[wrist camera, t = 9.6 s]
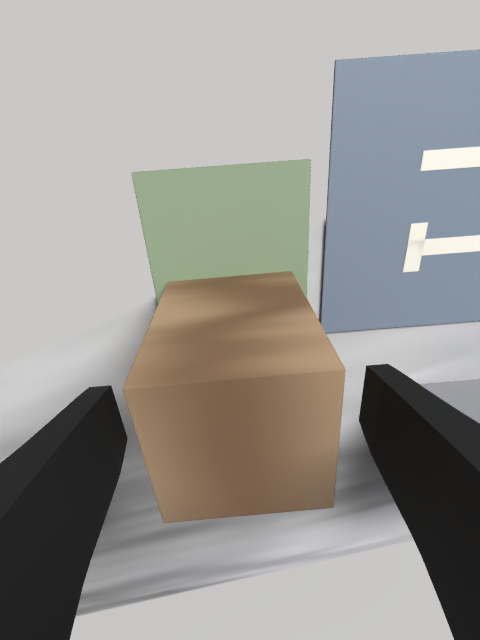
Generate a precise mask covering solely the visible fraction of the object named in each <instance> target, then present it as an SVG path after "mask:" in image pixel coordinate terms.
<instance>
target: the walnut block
mask: <svg viewBox="0 0 480 640" xmlns="http://www.w3.org/2000/svg"><path fill="white" fill-rule="evenodd" d="M344 381H345V368H344V366H343V364H342V362H341V360H340V359H339V357H338V355H337V353H336V351H335V349H334V348H333V346H332V344H331V342H330V340H329V338H328V337H327V335H326V333H325V331H324V329H323V328H322V326H321V324H320V322H319V320H318V318H317V317H316V315H315V313H314V311H313V309H312V307H311V306H310V304H309V302H308V300H307V298H306V297H305V295H304V293H303V291H302V289H301V287H300V286H299V284H298V282H297V280H296V278H295V276H294V275H293V273H292V271H285V272H274V273H262V274H251V275H240V276H228V277H217V278H206V279H194V280H183V281H172V282H167V285H166V287H165V289H164V292H163V294H162V297H161V299H160V301H159V304H158V306H157V309H156V311H155V313H154V316H153V318H152V321H151V323H150V325H149V328H148V330H147V332H146V335H145V337H144V340H143V342H142V344H141V347H140V349H139V352H138V354H137V356H136V359H135V361H134V364H133V366H132V368H131V371H130V373H129V375H128V378H127V380H126V383H125V385H124V387H123V392H124V395H125V398H126V402H127V405H128V408H129V411H130V415H131V418H132V421H133V424H134V428H135V431H136V434H137V437H138V441H139V444H140V447H141V450H142V454H143V457H144V460H145V463H146V467H147V470H148V473H149V476H150V480H151V483H152V486H153V489H154V493H155V496H156V499H157V502H158V506H159V509H160V512H161V515H162V518H163V522H164V523H169V522H180V521H191V520H202V519H213V518H224V517H236V516H247V515H258V514H269V513H280V512H291V511H302V510H313V509H324V508H333V506H334V495H335V483H336V472H337V460H338V449H339V438H340V426H341V415H342V404H343V392H344Z"/></svg>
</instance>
